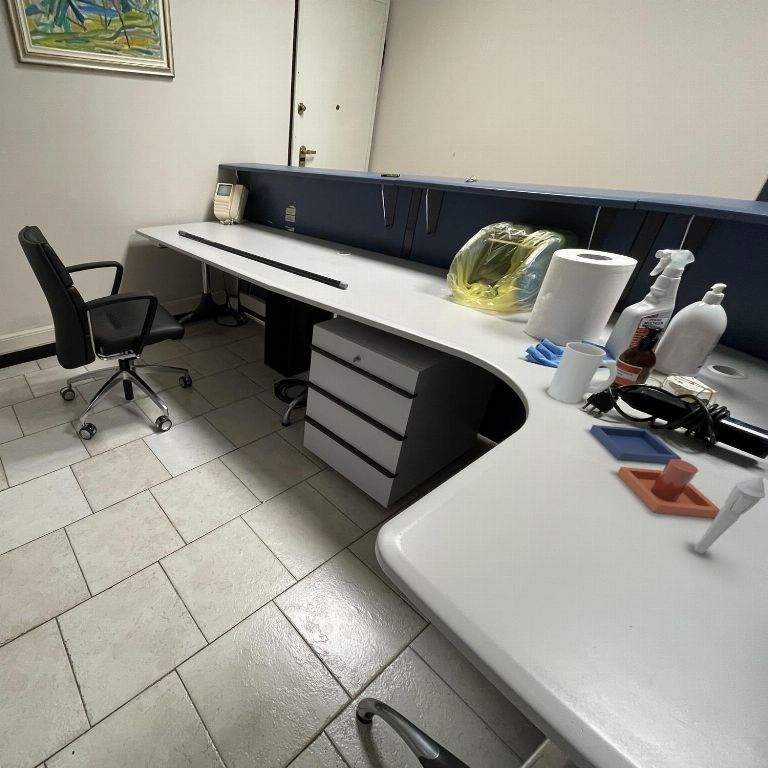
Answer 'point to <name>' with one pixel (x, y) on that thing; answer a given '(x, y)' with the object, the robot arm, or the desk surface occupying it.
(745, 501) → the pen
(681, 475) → the red peg
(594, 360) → the mug
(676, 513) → the terracotta tray
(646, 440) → the blue tray
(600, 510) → the desk surface
